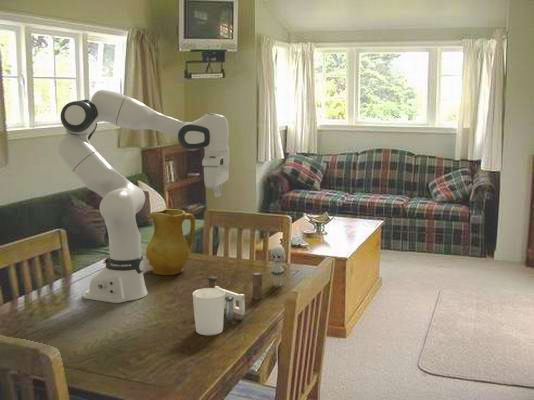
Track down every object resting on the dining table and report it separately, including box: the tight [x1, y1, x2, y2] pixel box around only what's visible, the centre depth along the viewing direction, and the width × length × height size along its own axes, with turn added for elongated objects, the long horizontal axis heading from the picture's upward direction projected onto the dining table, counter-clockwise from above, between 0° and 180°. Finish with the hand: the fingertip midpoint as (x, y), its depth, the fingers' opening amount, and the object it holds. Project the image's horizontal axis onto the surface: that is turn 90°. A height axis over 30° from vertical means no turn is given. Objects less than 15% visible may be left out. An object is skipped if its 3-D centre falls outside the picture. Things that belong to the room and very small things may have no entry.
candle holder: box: [192, 287, 225, 336], centre depth 199 cm, size 10×10×12 cm
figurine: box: [265, 245, 292, 287], centre depth 245 cm, size 10×6×15 cm, turn 68°
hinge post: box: [207, 276, 218, 288], centre depth 219 cm, size 3×3×11 cm
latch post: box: [225, 296, 234, 324], centre depth 207 cm, size 3×3×8 cm
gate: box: [214, 285, 246, 316], centre depth 214 cm, size 14×1×6 cm, turn 45°
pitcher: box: [145, 208, 196, 276], centre depth 262 cm, size 17×19×25 cm
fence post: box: [252, 271, 263, 301], centre depth 229 cm, size 2×2×9 cm
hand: (217, 196), depth 237 cm, fingers closed
